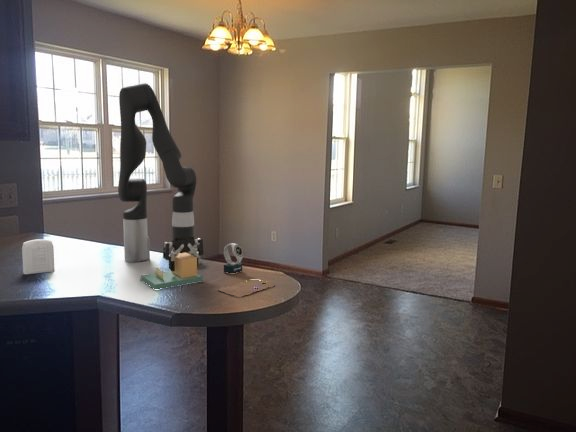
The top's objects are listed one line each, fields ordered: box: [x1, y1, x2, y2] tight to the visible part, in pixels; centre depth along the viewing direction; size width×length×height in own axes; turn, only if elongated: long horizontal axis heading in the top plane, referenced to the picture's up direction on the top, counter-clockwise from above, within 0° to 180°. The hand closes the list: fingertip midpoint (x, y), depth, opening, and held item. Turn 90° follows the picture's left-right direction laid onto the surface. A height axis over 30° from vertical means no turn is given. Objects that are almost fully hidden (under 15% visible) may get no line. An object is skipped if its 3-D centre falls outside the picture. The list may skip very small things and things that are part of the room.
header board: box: [141, 267, 203, 290], centre depth 167 cm, size 17×13×5 cm
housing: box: [172, 253, 198, 278], centre depth 169 cm, size 6×9×6 cm, turn 36°
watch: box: [223, 242, 245, 274], centre depth 180 cm, size 6×8×11 cm
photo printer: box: [21, 238, 55, 275], centre depth 175 cm, size 10×4×12 cm, turn 123°
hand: (183, 269), depth 169 cm, fingers open, 8 cm apart
